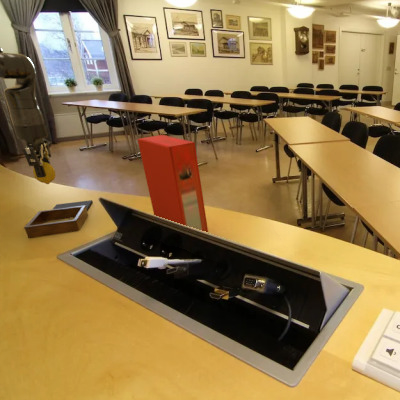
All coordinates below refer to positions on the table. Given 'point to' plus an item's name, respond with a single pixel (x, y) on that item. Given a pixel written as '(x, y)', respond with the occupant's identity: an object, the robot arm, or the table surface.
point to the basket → (40, 229)
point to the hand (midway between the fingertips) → (44, 174)
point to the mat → (74, 204)
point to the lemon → (48, 171)
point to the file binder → (174, 180)
